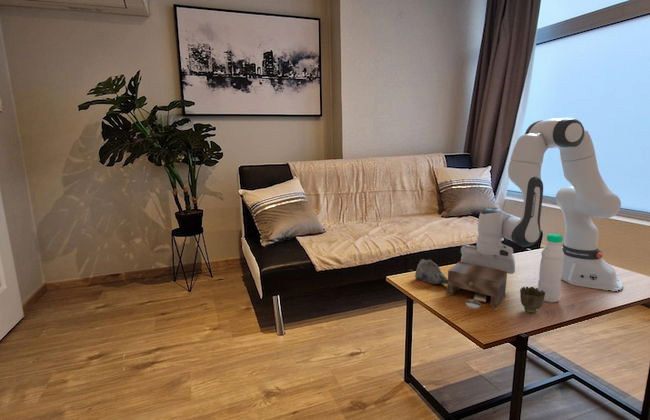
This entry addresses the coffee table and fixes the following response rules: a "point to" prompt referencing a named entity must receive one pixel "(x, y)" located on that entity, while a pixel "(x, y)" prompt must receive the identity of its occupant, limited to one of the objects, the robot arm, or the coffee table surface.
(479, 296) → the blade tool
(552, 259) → the water bottle
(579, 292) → the coffee table surface
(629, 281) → the coffee table surface
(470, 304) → the steel disc
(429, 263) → the mineral rock
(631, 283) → the coffee table surface
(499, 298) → the brown bridge block
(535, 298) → the cup
